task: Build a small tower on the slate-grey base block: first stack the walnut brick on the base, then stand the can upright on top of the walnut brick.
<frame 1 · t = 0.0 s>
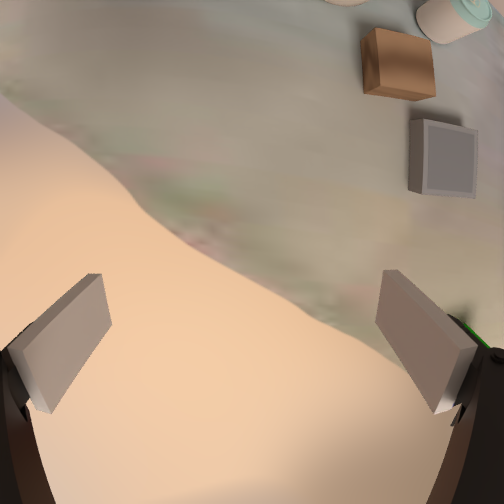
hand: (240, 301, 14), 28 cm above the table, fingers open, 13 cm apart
can: (432, 25, 32), on the table
tower base: (437, 158, 38), on the table
walnut brick: (388, 71, 35), on the table
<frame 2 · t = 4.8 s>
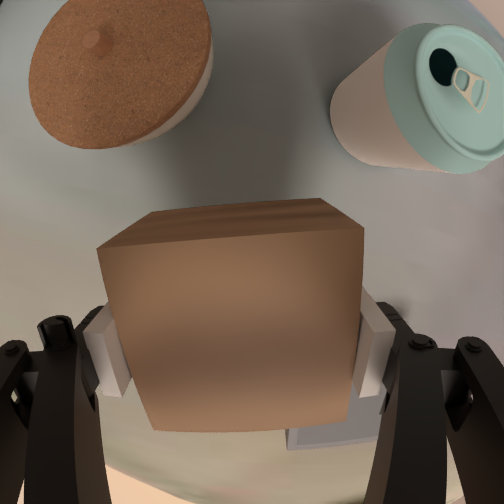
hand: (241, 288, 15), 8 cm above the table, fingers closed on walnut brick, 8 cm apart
lidded jar: (151, 81, 20), on the table
can: (373, 118, 20), on the table
tower base: (341, 380, 26), on the table
walnut brick: (241, 283, 16), point 7 cm above the table, touching gripper
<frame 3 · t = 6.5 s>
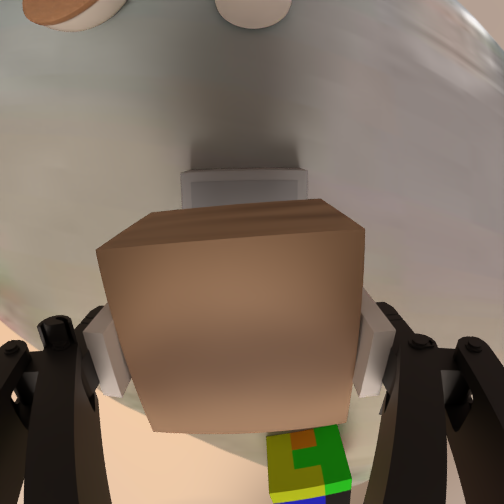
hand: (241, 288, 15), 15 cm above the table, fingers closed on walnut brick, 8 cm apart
lidded jar: (101, 2, 22), on the table
can: (253, 3, 23), on the table
puzzle toy: (304, 448, 40), on the table
tower base: (245, 222, 29), on the table
walnut brick: (241, 284, 16), point 14 cm above the table, touching gripper
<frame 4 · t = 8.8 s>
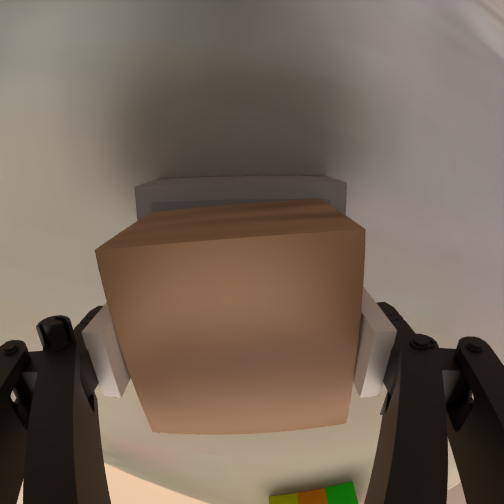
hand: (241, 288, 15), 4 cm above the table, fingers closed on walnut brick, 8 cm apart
puzzle toy: (312, 503, 30), on the table
tower base: (243, 258, 19), on the table
walnut brick: (241, 284, 16), point 4 cm above the table, touching gripper, tower base
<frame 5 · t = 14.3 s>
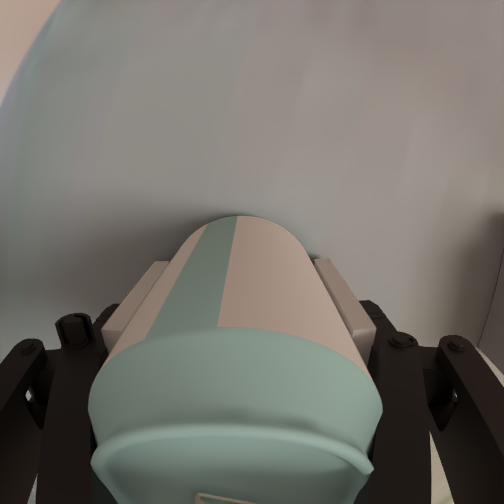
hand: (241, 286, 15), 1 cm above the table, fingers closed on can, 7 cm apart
can: (242, 280, 16), on the table, touching gripper
when the fingers open (12 cm above the table, at t = 20.2 s): can drops 1 cm, resting on walnut brick.
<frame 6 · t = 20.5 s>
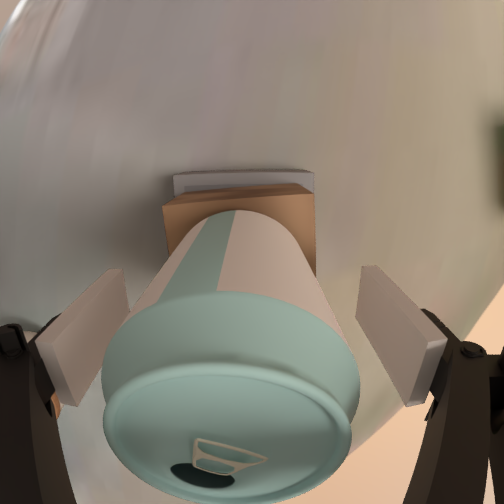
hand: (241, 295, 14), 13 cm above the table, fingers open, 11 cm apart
can: (239, 270, 18), point 10 cm above the table, touching walnut brick
tower base: (245, 228, 27), on the table
walnut brick: (245, 241, 23), point 4 cm above the table, touching can, tower base
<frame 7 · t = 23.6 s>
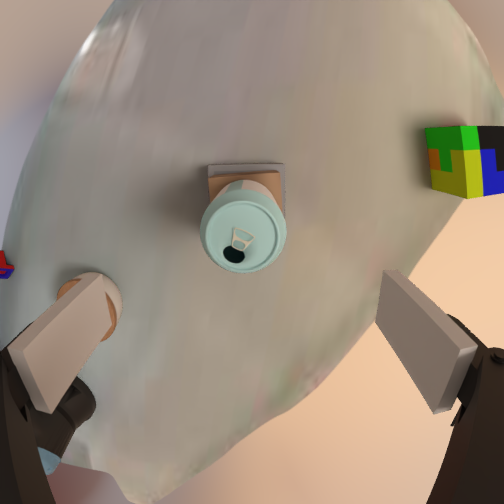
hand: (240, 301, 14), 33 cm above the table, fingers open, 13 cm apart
lidded jar: (103, 292, 50), on the table
multicoloured piece: (4, 260, 48), on the table
can: (245, 210, 36), point 10 cm above the table, touching walnut brick
puzzle toy: (450, 156, 43), on the table
tower base: (247, 198, 45), on the table
walnut brick: (247, 202, 41), point 4 cm above the table, touching can, tower base
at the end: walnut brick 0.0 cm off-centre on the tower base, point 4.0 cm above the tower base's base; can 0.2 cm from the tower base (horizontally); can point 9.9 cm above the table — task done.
